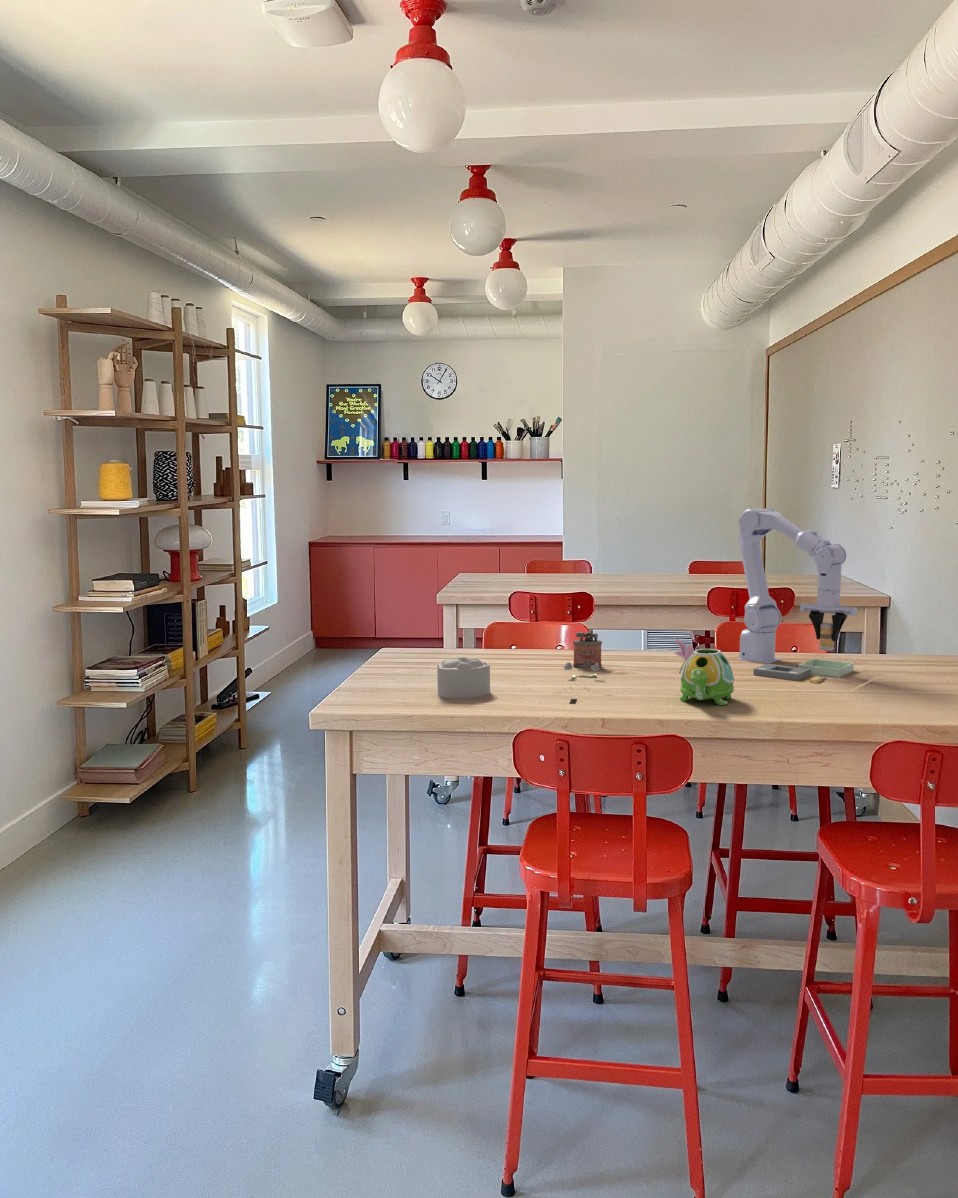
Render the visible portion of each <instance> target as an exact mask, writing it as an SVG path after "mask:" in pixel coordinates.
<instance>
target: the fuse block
mask: <svg viewBox="0 0 958 1198" xmlns="http://www.w3.org/2000/svg"><path fill="white" fill-rule="evenodd" d="M753 676H759V677H765V678H772V679H773V678H775V679H781V680H788V681H797V682H798V681H801V680H802V679H805V678H807V677H809V676H812V674H811V669H806V668H798V666H797V667H796V666H790V665H789V666H787V665H779V664H772V663H764V664H763V665H760V666H757V667H755V668H753Z"/></svg>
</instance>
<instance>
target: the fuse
mask: <svg viewBox="0 0 958 1198" xmlns="http://www.w3.org/2000/svg"><path fill="white" fill-rule="evenodd" d="M832 634H833V622H823V623H820V639H819V646H818V650H819V651H830V652H831V651H834V650H835V641H832Z"/></svg>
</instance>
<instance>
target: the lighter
mask: <svg viewBox="0 0 958 1198" xmlns="http://www.w3.org/2000/svg"><path fill="white" fill-rule="evenodd" d="M575 637H576V638H579V639H574V640H573V641H572V643H573V663H572V668H575V669H591V667H592V666H593V665H595V664H596V663H598V664H599V665H600V666H599V668H603V666H602V665H603V663H602V645H603V641H602V640H600V639H599V640H598V633H597V632H595V633H594V632H591V631H586V632H579V631H578V632H576V633H575Z"/></svg>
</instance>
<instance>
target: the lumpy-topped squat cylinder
mask: <svg viewBox="0 0 958 1198" xmlns="http://www.w3.org/2000/svg"><path fill="white" fill-rule="evenodd" d="M436 667H437V673H436V674H437V693H438V697H439V698H443V699H471V698H479V697H484V696H487V695H489V694H491V666H490V664H489V663H487V662H486V661H484V662H483V661H482V660H480V659H479V658H476V657H470V658H467V657H466V656H462V655H461V656H457V657H456V658H445V659H443V660H442V661H441V662H439V663H437V666H436Z"/></svg>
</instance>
